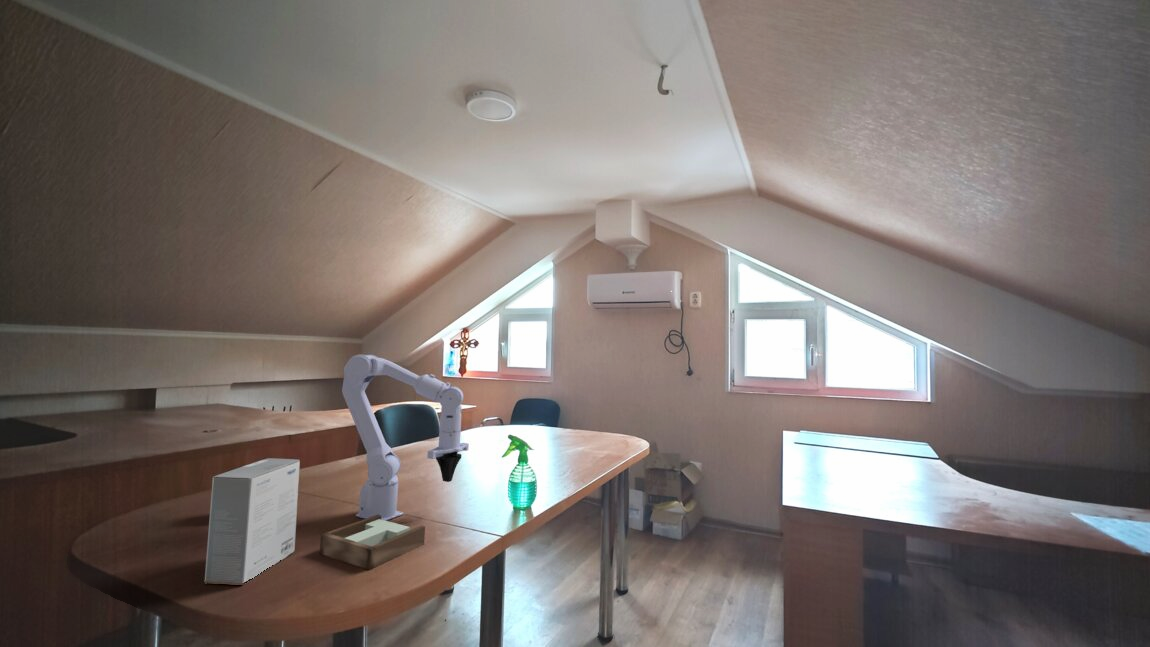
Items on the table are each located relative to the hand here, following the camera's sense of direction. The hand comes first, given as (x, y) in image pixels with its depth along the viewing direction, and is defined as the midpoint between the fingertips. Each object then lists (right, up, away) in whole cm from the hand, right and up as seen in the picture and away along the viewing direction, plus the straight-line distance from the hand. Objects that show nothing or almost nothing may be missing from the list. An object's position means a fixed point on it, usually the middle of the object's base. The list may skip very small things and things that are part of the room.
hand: (447, 481), depth 127 cm
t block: (-10, -7, -23) cm, 27 cm away
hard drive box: (-30, -6, -34) cm, 46 cm away
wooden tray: (-10, -7, -23) cm, 26 cm away
